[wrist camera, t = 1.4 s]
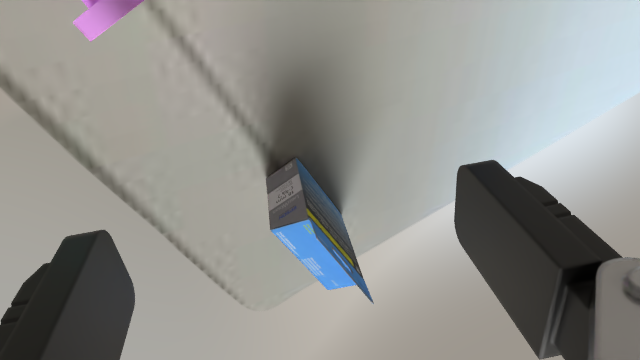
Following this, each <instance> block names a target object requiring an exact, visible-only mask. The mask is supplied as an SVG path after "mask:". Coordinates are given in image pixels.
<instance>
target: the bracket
mask: <svg viewBox="0 0 640 360" xmlns="http://www.w3.org/2000/svg"><path fill="white" fill-rule="evenodd" d="M82 1H83V2H84V4H85V5H86V6H87V7H88V8H89V9H88V10H86V11H85V12H84V13H83V14H82V15H80V16H79V17H78V18H77V19H76V20H75V21H74V22H73V24H74V25H75V26H76V27H77V28H78V29H79V30H80V31H81V32H82V33H83V34H84V35H85V36H86V37H87V38H88V39H89V40H90V42H91V41H92V40H93V39H95V38H96V37H97V36H99V35H100V34H101V33H103V32H104V31H105V30H106V29H108V28H109V27H110V26H112V25H113V24H114V23H115V22H117V21H118V20H119V19H121V18H122V17H123V16H124V15H126V14H127V13H128V12H130V11H131V10H132V9H133V8H135V7H136V6H137V5H138V4H140V3H141V2H142V1H144V0H82Z"/></svg>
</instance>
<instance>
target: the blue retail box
mask: <svg viewBox="0 0 640 360" xmlns="http://www.w3.org/2000/svg"><path fill="white" fill-rule="evenodd" d="M266 185H267V194H268V208H269V220H270V230H271V231H272V232H273V233H274V234H275V235H276V236H277V237H278V238H279V239H280V241H281V242H282V243H283V244H284V245H285V246H286V247H287V248H288V249H289V250H290V251H291V252H292V253H293V254H294V255H295V256H296V257H297V258H298V259H299V260H300V261H301V262H302V263H303V264H304V265H305V266H306V268H307V269H308V270H309V271H310V272H311V273H312V274H313V275H314V276H315V277H316V278H317V279H318V280H319V281H320V282H321V283H322V284H323V285H324V286H325V288H326V289H327V290H331V289H337V288H341V287H347V286H353V285H357V286H358V287H359V288H360V289H361V290H362V292H363V293H364V294H365V295H366V296H367V298H368V299H369V300H370V301H371V302H372V303H373V300H372V298H371V296H370V293H369V291H368V288H367V286H366V284H365V281H364V279H363V276H362V273H361V271H360V268H359V265H358V262H357V259H356V256H355V253H354V250H353V247H352V244H351V241H350V238H349V235H348V233H347V230H346V227H345V224H344V221H343V218H342V216H341V214H340V212H339V211H338V210H337V208H336V207H335V206H334V204H333V203H332V202H331V200H330V199H329V198H328V197H327V195H326V194H325V193H324V191H323V190H322V189H321V188H320V186H319V185H318V184H317V182H316V181H315V180H314V179H313V177H312V176H311V175H310V174H309V172H308V171H307V170H306V169H305V167H304V166H303V165H302V164H301V162H300V161H299V160H298V159H297V158H294V159H293V160H291V161H289V162H288V163H287V164H285V165H284V166H282V167H281V168H279V169H278V170H277V171H275V172H274V173H272V174H271V175H269V176H268V177H267V178H266ZM373 304H374V303H373Z"/></svg>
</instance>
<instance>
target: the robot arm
mask: <svg viewBox="0 0 640 360" xmlns="http://www.w3.org/2000/svg"><path fill="white" fill-rule="evenodd" d="M454 222H455V229H456V234H457V236H458V239H459V242H460V244H461V245H462V247H463V248H464V250H465V251H466V253H467V254H468V256H469V257H470V259H471V260H472V261H473V263H474V265H475V266H476V267H477V269H478V270H479V272H480V273H481V275H482V276H483V278H484V279H485V281H486V282H487V284H488V285H489V286H490V288H491V289H492V291H493V292H494V294H495V295H496V297H497V298H498V300H499V301H500V303H501V304H502V306H503V307H504V309H505V310H506V311H507V313H508V314H509V316H510V317H511V319H512V320H513V322H514V323H515V325H516V326H517V328H518V329H519V330H520V332H521V333H522V335H523V336H524V338H525V339H526V341H527V342H528V344H529V345H530V347H531V348H532V349H533V351H534V352H535V354H536V355H537V357H538V358H539V359H544V358H549V357H553V356H558V355H562V356H563V358H564V359H565V360H640V259H639V258H628V257H627V258H623V257H622V256H620V255H619V254H618V253H617V252H616V251H615V250H614V249H612V248H611V247H610V246H609V245H608V244H607V243H606V242H604V241H603V240H602V239H601V238H600V237H599V236H598V235H596V234H595V233H594V232H593V231H592V230H591V229H589V228H588V227H587V226H586V225H585V224H584V223H583V222H582V221H581V220H579V219H578V218H577V217H576V216H575V215H571V212H570V211H569V210H568V209H567V208H566V207H564V206H563V205H562V204H561V203H559V204H558V201H557V200H556V199H555V198H554V197H553V196H552V195H551V194H550V193H548V191H546V190H545V189H544V188H543V187H542V186H539V185H537V184H535V183H533V182H531V181H529V180H526V179H524V178H522V177H515V178H514V177H513V176H512V175H511V174H510V173H509V172H508V171H506V170H505V169H504V168H503V167H502V166H501V165H500V164H499V163H498V162H497V161H495V160H489V161H484V162H478V163H473V164H467V165H462V166H460V167H459V169H458V172H457V184H456V201H455V219H454ZM11 305H12V306H11V307H10V308H8V309H7V311H6V313H5V314H4V316H3V318H2V319H1V325H0V360H120V356H121V353H122V349H123V346H124V342H125V339H126V335H127V331H128V328H129V324H130V321H131V317H132V313H133V310H134V305H135V293H134V287H133V283H132V280H131V278H130V276H129V274H128V272H127V269H126V267H125V265H124V263H123V261H122V259H121V256H120V254H119V252H118V250H117V248H116V246H115V244H114V242H113V239H112V237H111V236H110V234H109V233H108V232H107V231H105V230H99V231H94V232H88V233H82V234H77V235H71V236H67V237H66V238H65V239H64V240H63V241H62V243H61V245H60V247H59V249H58V250H57V252H56V254H55V256H54V257H53V259H52V261H51V263H46V264H43V265H42V266H41V267H40V268H39V269H38V270H37V271H36V272H35V273H34V274H33V275H32V276H31V277H30V278H28V279H27V280H26V281H25V282H24V283H23V285H22V287H21V288H20V290H19V291H18V293H17V295H16V297H15V298H14V300H13V301H12V303H11Z"/></svg>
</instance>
